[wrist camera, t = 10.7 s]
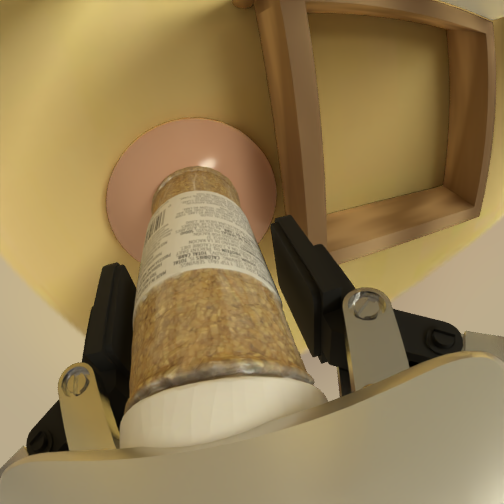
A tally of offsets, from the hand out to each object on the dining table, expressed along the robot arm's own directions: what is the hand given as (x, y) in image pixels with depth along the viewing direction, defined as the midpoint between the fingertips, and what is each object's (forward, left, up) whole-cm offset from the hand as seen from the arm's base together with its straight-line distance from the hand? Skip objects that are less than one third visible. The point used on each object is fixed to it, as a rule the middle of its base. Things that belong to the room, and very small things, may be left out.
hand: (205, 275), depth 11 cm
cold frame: (-11, -6, -6) cm, 14 cm away
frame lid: (-12, -12, +4) cm, 18 cm away
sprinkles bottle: (0, 0, -6) cm, 6 cm away
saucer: (0, 0, -6) cm, 6 cm away
